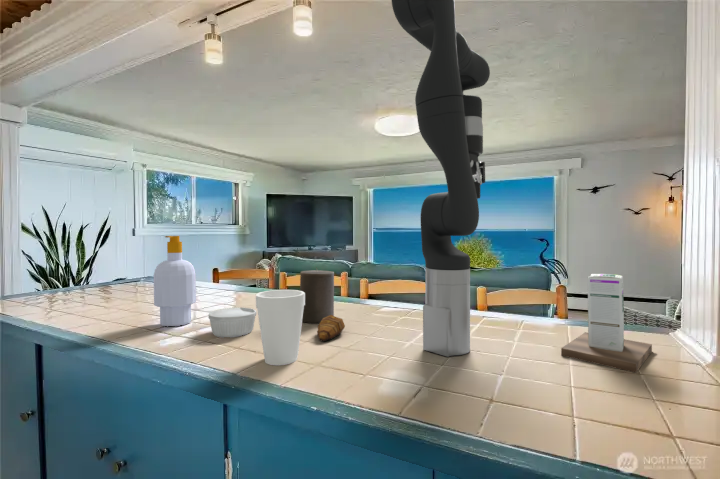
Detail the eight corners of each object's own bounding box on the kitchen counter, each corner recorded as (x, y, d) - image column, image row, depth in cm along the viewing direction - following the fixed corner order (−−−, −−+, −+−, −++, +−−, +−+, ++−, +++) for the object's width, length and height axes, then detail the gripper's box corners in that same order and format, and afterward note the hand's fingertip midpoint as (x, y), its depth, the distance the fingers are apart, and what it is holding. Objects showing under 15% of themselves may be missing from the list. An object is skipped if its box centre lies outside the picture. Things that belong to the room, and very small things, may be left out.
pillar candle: (304, 325, 95) (305, 269, 95) (296, 317, 104) (296, 266, 103) (338, 321, 99) (339, 268, 98) (327, 314, 108) (328, 265, 107)
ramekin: (265, 330, 90) (265, 310, 90) (228, 342, 81) (228, 319, 81) (237, 324, 96) (236, 305, 96) (199, 334, 87) (199, 313, 87)
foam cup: (313, 354, 72) (313, 291, 72) (290, 371, 64) (289, 299, 63) (273, 349, 75) (272, 288, 75) (246, 364, 67) (245, 296, 66)
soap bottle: (145, 328, 93) (143, 236, 92) (172, 318, 103) (170, 235, 102) (180, 329, 91) (178, 236, 91) (204, 319, 101) (203, 235, 101)
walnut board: (636, 372, 62) (636, 364, 62) (561, 355, 71) (561, 347, 71) (651, 351, 73) (651, 344, 73) (585, 338, 82) (585, 332, 82)
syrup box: (623, 352, 68) (624, 277, 68) (586, 346, 72) (587, 275, 71) (623, 345, 72) (624, 274, 72) (589, 339, 76) (590, 272, 76)
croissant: (336, 344, 79) (336, 322, 79) (308, 342, 80) (308, 320, 80) (351, 328, 92) (351, 309, 92) (326, 326, 94) (326, 308, 94)
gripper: (466, 129, 87) (466, 194, 88) (494, 139, 97) (493, 198, 97) (441, 135, 93) (441, 197, 93) (469, 144, 103) (469, 200, 103)
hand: (468, 197), depth 95 cm, fingers open, 8 cm apart
